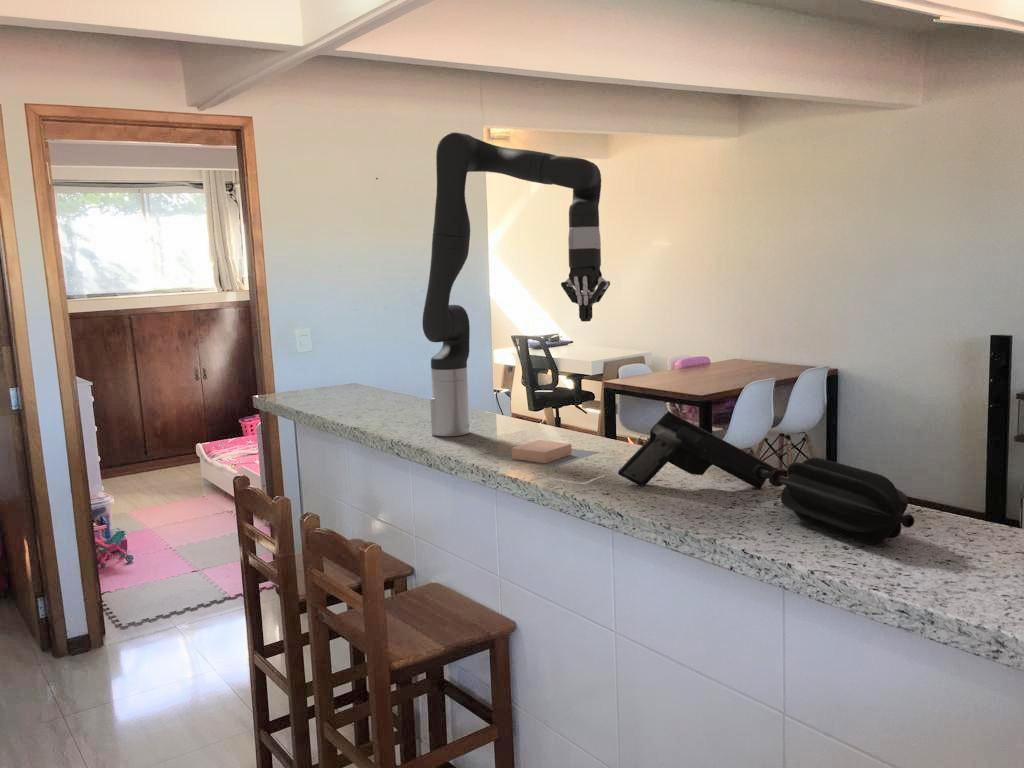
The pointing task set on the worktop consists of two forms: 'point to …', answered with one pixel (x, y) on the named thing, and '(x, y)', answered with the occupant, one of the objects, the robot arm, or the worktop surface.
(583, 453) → the mat
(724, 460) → the handgun
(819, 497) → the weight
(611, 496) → the worktop surface
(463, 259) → the robot arm
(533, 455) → the tile
